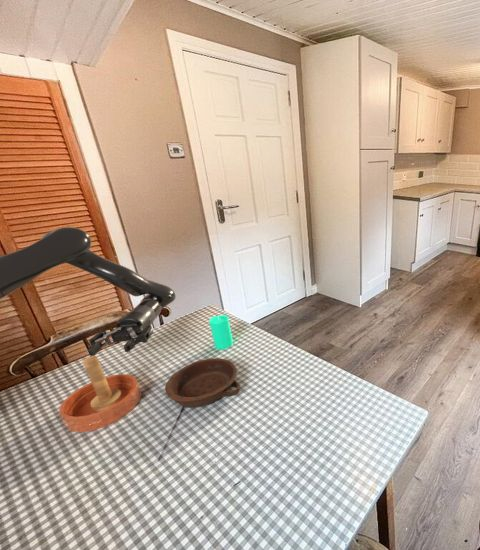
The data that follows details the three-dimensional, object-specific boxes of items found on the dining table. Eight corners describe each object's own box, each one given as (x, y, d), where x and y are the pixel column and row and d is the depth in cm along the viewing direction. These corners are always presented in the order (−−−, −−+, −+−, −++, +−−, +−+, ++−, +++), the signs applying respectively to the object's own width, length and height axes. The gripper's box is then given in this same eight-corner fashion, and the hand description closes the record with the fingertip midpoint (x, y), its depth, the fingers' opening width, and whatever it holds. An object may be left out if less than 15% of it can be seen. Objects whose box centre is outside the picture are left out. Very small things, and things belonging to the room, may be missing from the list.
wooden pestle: (86, 413, 78) (65, 368, 73) (104, 395, 84) (86, 352, 79) (112, 412, 79) (93, 367, 73) (128, 394, 84) (112, 350, 79)
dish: (219, 421, 77) (215, 406, 75) (147, 407, 81) (141, 393, 79) (256, 375, 92) (254, 362, 91) (194, 365, 97) (191, 353, 95)
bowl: (50, 439, 72) (41, 424, 70) (91, 392, 86) (85, 378, 84) (123, 428, 75) (117, 413, 73) (152, 384, 89) (147, 371, 87)
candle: (211, 348, 105) (204, 318, 101) (221, 338, 111) (215, 310, 106) (226, 350, 104) (220, 320, 100) (236, 340, 110) (230, 311, 105)
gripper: (108, 313, 95) (73, 342, 80) (158, 308, 98) (133, 336, 83) (116, 333, 98) (83, 365, 83) (164, 328, 100) (141, 359, 86)
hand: (108, 351), depth 83 cm, fingers open, 8 cm apart
